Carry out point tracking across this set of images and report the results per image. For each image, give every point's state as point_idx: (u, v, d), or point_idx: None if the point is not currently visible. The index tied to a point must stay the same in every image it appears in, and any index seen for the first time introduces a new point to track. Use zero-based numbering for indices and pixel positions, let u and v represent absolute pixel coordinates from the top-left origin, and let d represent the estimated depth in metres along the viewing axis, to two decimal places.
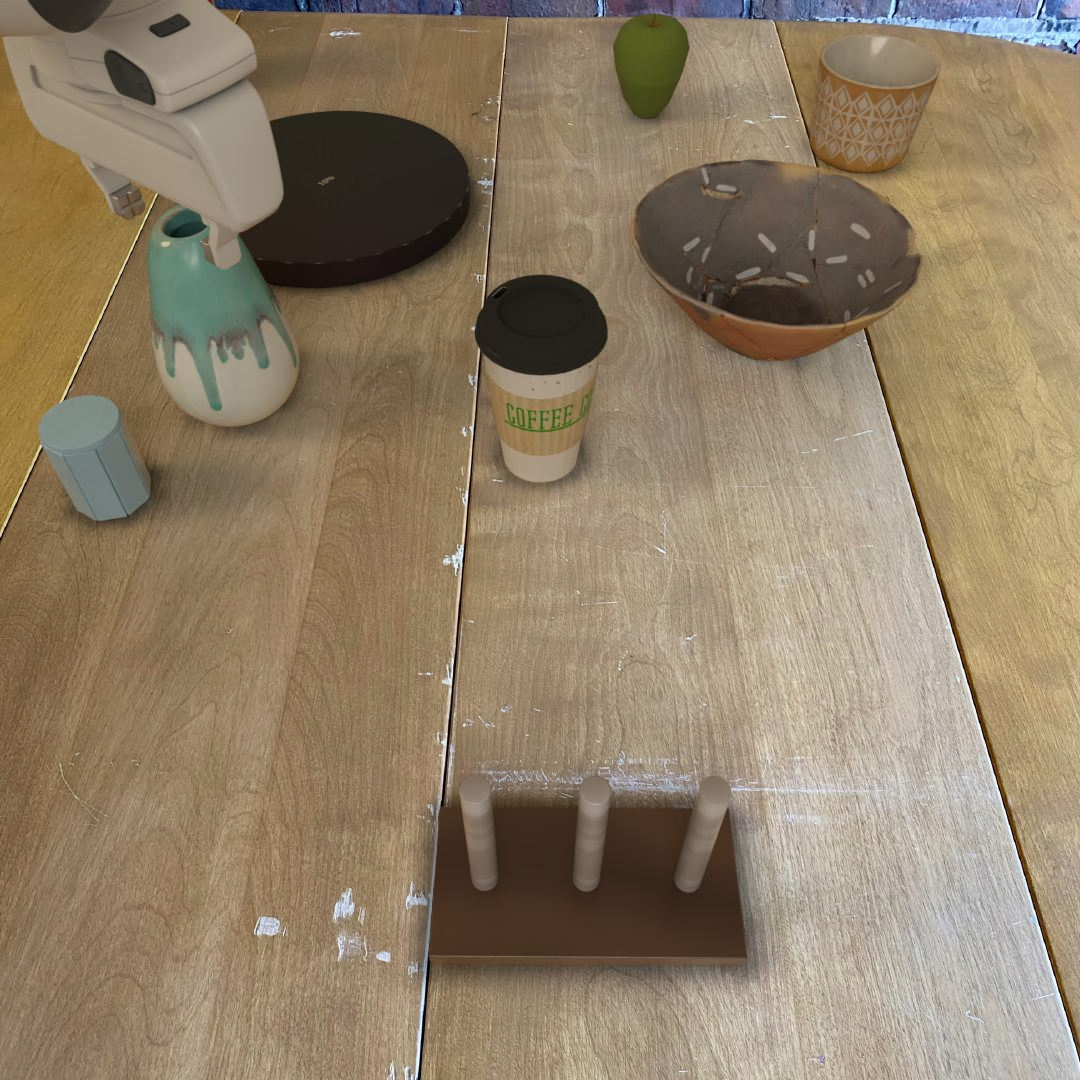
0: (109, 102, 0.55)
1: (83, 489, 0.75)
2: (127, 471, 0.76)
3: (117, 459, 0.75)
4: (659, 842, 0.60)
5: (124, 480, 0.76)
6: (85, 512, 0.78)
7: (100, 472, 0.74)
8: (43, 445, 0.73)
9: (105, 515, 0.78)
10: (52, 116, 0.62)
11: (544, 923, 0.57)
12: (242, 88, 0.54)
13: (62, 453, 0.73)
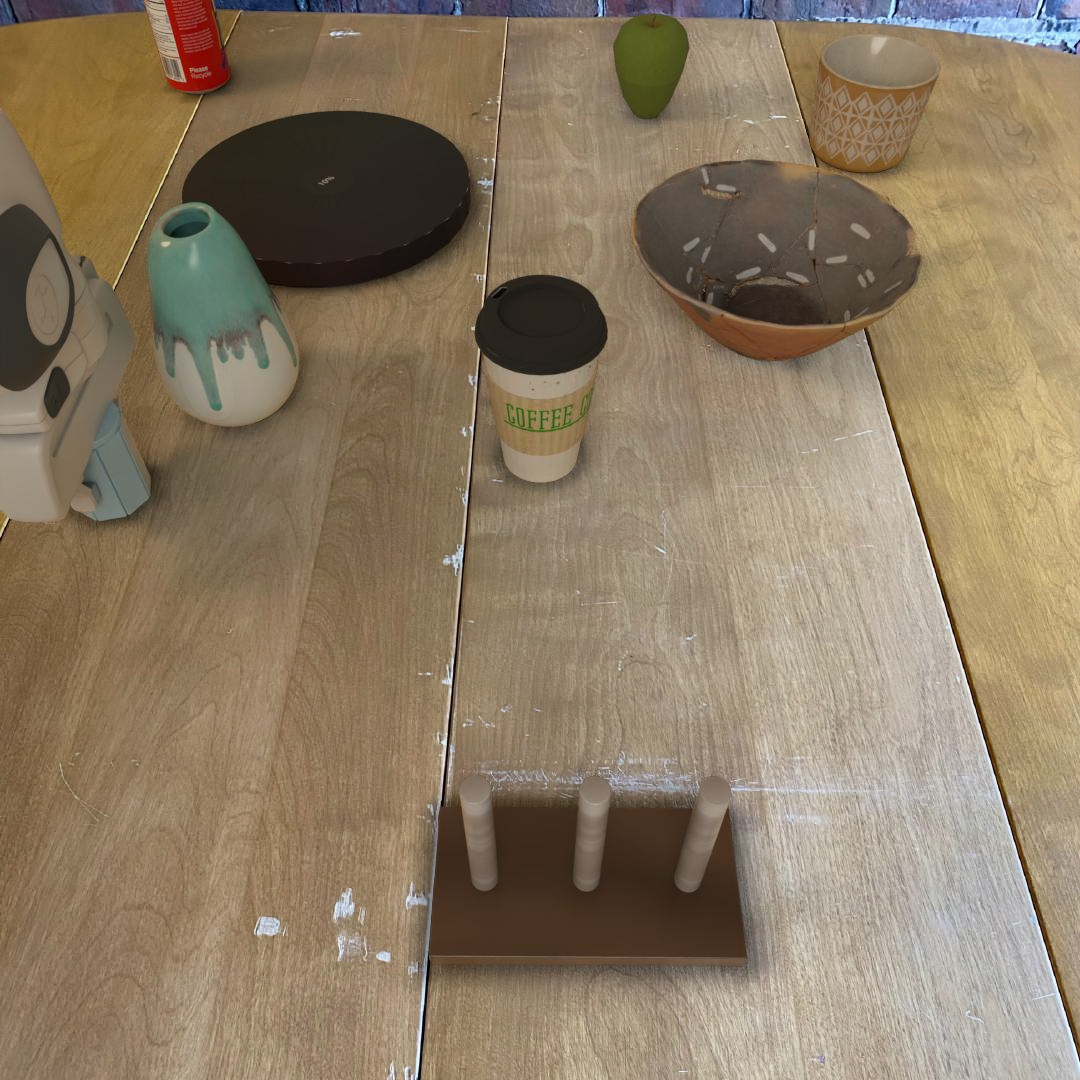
0: None
1: None
2: (127, 471, 0.76)
3: (117, 459, 0.75)
4: (659, 842, 0.60)
5: (124, 480, 0.76)
6: (85, 512, 0.78)
7: (100, 472, 0.74)
8: None
9: (105, 515, 0.78)
10: None
11: (544, 923, 0.57)
12: (28, 438, 0.64)
13: None
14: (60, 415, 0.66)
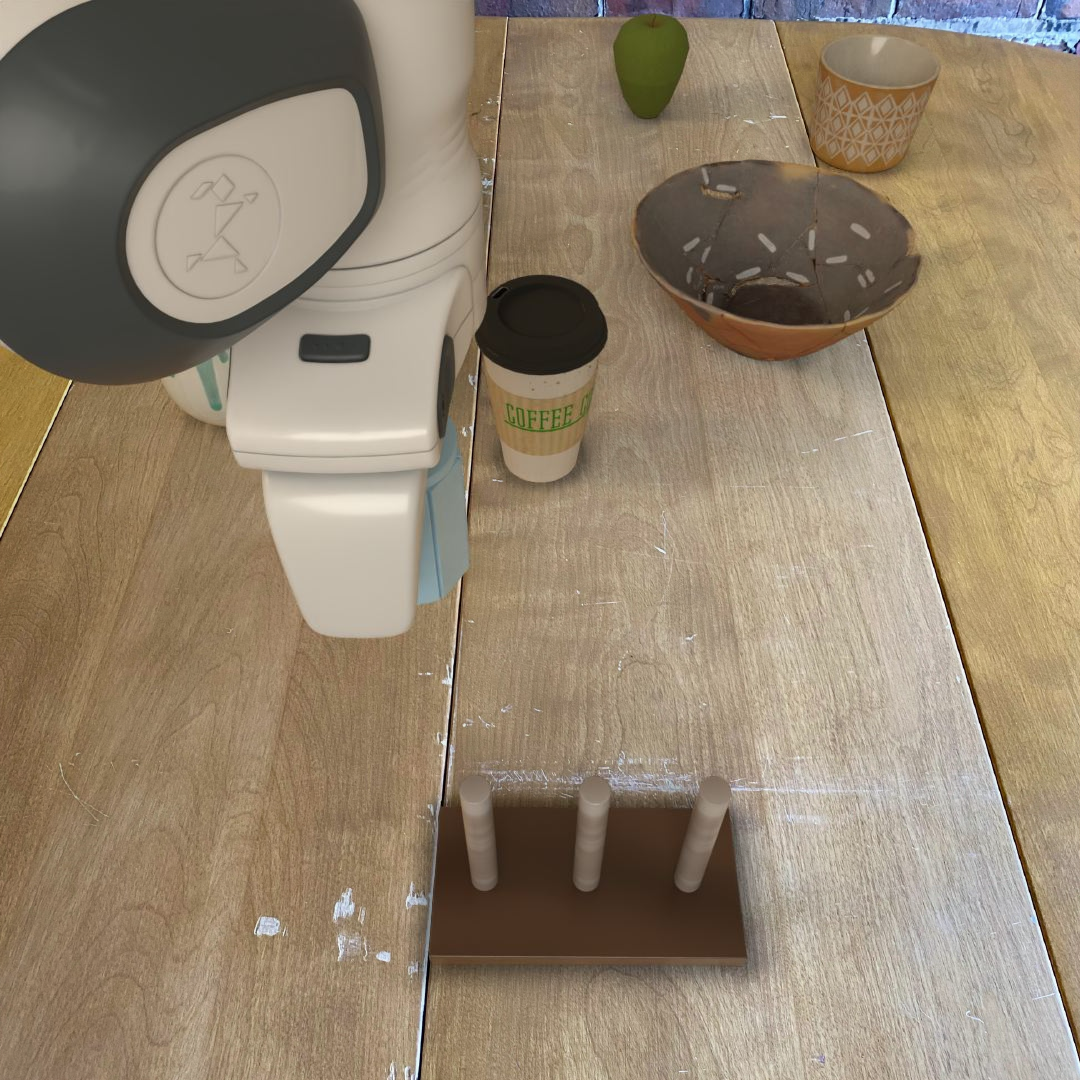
0: None
1: None
2: (455, 526, 0.44)
3: (449, 506, 0.42)
4: (659, 842, 0.60)
5: (450, 541, 0.44)
6: None
7: (424, 531, 0.42)
8: None
9: None
10: None
11: (544, 923, 0.57)
12: (393, 482, 0.31)
13: None
14: None
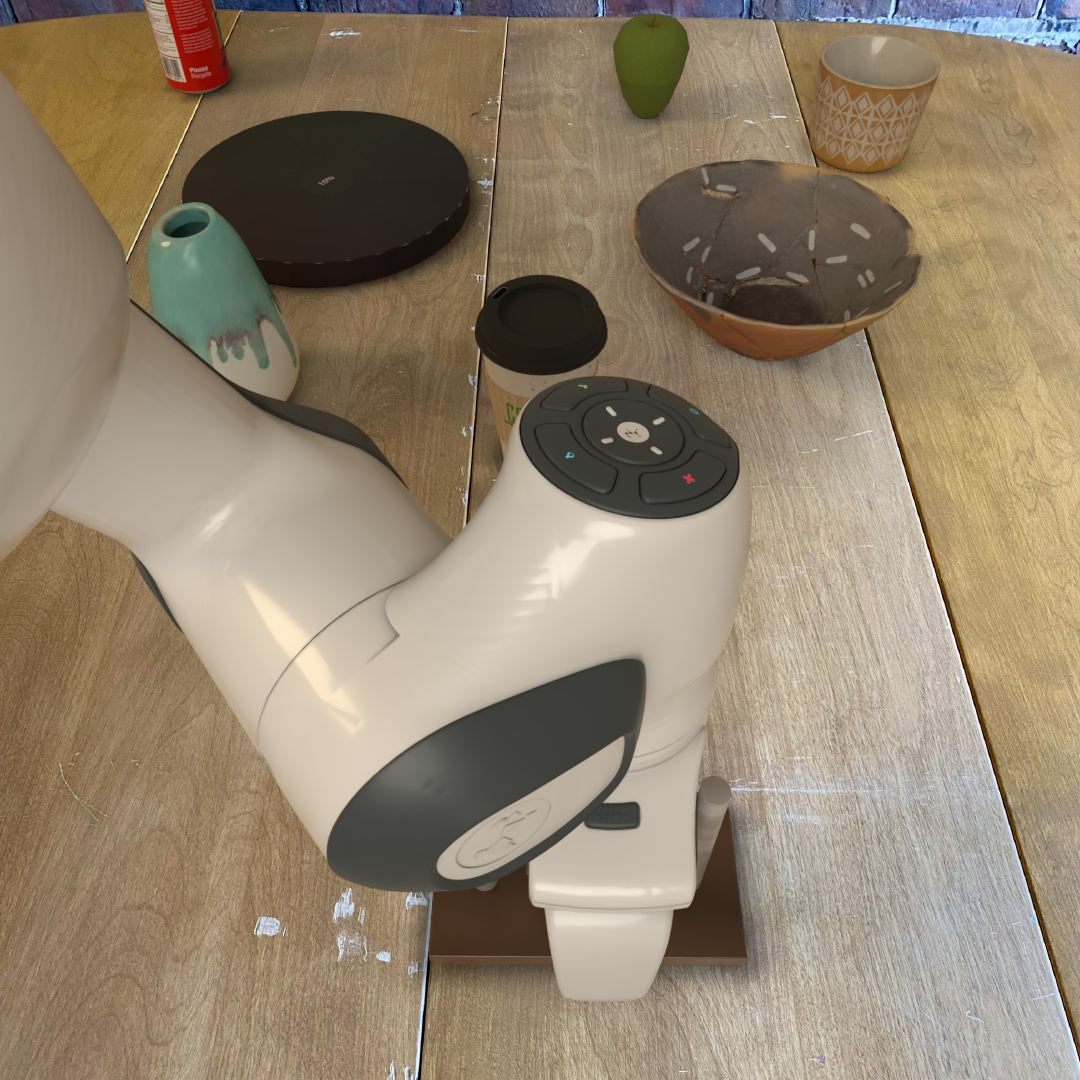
0: None
1: None
2: None
3: None
4: None
5: None
6: None
7: None
8: None
9: None
10: None
11: (544, 923, 0.57)
12: (652, 913, 0.39)
13: None
14: None
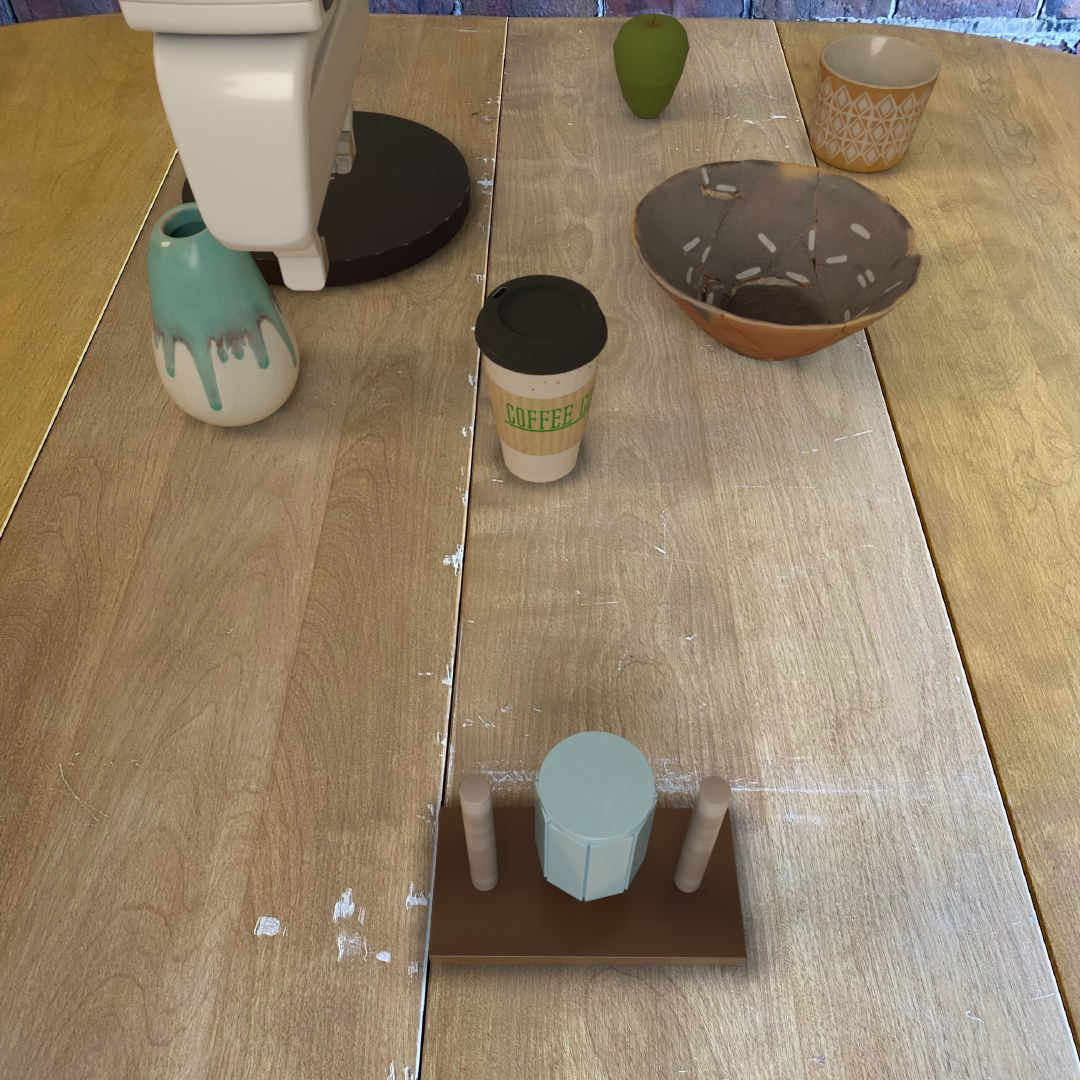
0: None
1: (590, 875, 0.50)
2: (644, 840, 0.51)
3: (644, 833, 0.50)
4: (659, 842, 0.60)
5: (639, 852, 0.52)
6: (567, 889, 0.53)
7: (624, 856, 0.49)
8: (551, 825, 0.48)
9: (598, 895, 0.53)
10: None
11: (544, 923, 0.57)
12: (278, 48, 0.32)
13: (585, 842, 0.48)
14: (324, 25, 0.34)
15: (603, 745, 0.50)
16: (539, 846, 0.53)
